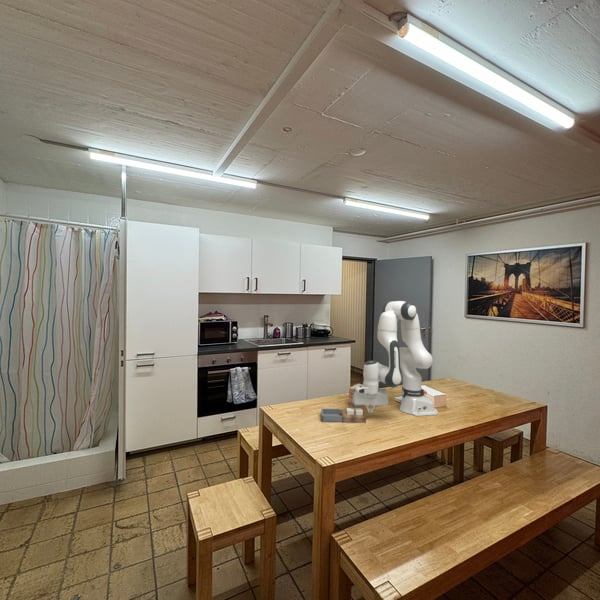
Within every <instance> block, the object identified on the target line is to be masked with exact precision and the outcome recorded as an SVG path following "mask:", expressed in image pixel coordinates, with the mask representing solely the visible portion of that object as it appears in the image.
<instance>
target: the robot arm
mask: <svg viewBox="0 0 600 600" xmlns="http://www.w3.org/2000/svg"><path fill="white" fill-rule="evenodd" d="M417 309H418V308H417V306H416V305H415V303H414V302H410V301H405V300H404V301H403V300H395V301H393V300H389V301H386V302H385V303H384V305H383V307H382V313H380V316H379V318H378V319H379V320H378V324H377V335H376V336H377V340H378V342H379V343H380V345H382V346H383V348H385V349H386V351H387V353H388V366H387V365H384V364H381V363H380V362H378V361H377V360H373V359H372V360H367V361H366V362H364V365H363V370H362V371H363V373H362V374H363V376H362V377H363V382H362V385H359V386H356V387H355V390H356V391H355V392H354V395H353V403H354V404H355V405H362V406H365V407H366V409H367V411H366V412H367V413H374V409H375V408H376V406H387V405H389V398H388V397H389V390H388V389H386V388H379V386H380V385H379V383H380V382H381V383H382V384H385V385H387V386H388V387H390V388H393V389H394V388H397V387H399V386H400V385H401V383H402V387H401V402H400V406H399V410H400V411H401V412H403V413H405V414H407V415H411V416H415V417H422V416H437V415H439V411H438V410H437V409H436V407H435V406H434V403H433V401H432V400H431V399H430V398H428V397H427V396H426V395H427V394H428V391H427V390H425V389H424V388H422V381H423V380H422V376H421V374H420V373H419V371H417V369H420V370H421V369H423V370H425V369H426V370H427V369H429V368H430V367H432V365H433V362H434V359H433V358H434V357H433V356H432V354H431V353H430V352H429V351H428V350H427V349H426V347H425V346H424V343H423V340H422V336H421V326H420V325H421V324H420V320H419V319H420V318H419V314H418V312H417V311H418V310H417ZM399 320H400V331H401V339H402V342H403V343H405V345H406V346H407V347H406V346H402V347H400V344H399V342H398V341H399V340H398V322H399ZM369 406H371V408H369Z"/></svg>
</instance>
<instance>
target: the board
mask: <svg viewBox="0 0 600 600" xmlns="http://www.w3.org/2000/svg"><path fill="white" fill-rule="evenodd" d="M339 409H340V416H342V423H343V424H344V423H345V424H366V423H367V417H366V416H365V413H364V412H363V415H356V414H355V409H354V415H347V413H346V409H341V408H339Z"/></svg>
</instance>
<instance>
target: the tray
mask: <svg viewBox="0 0 600 600" xmlns="http://www.w3.org/2000/svg"><path fill="white" fill-rule="evenodd" d="M320 409H321V411H320V415H321V420H322V421H321V422H322V423H343V421H342V416H341V415H340V409H341V408H320Z"/></svg>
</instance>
